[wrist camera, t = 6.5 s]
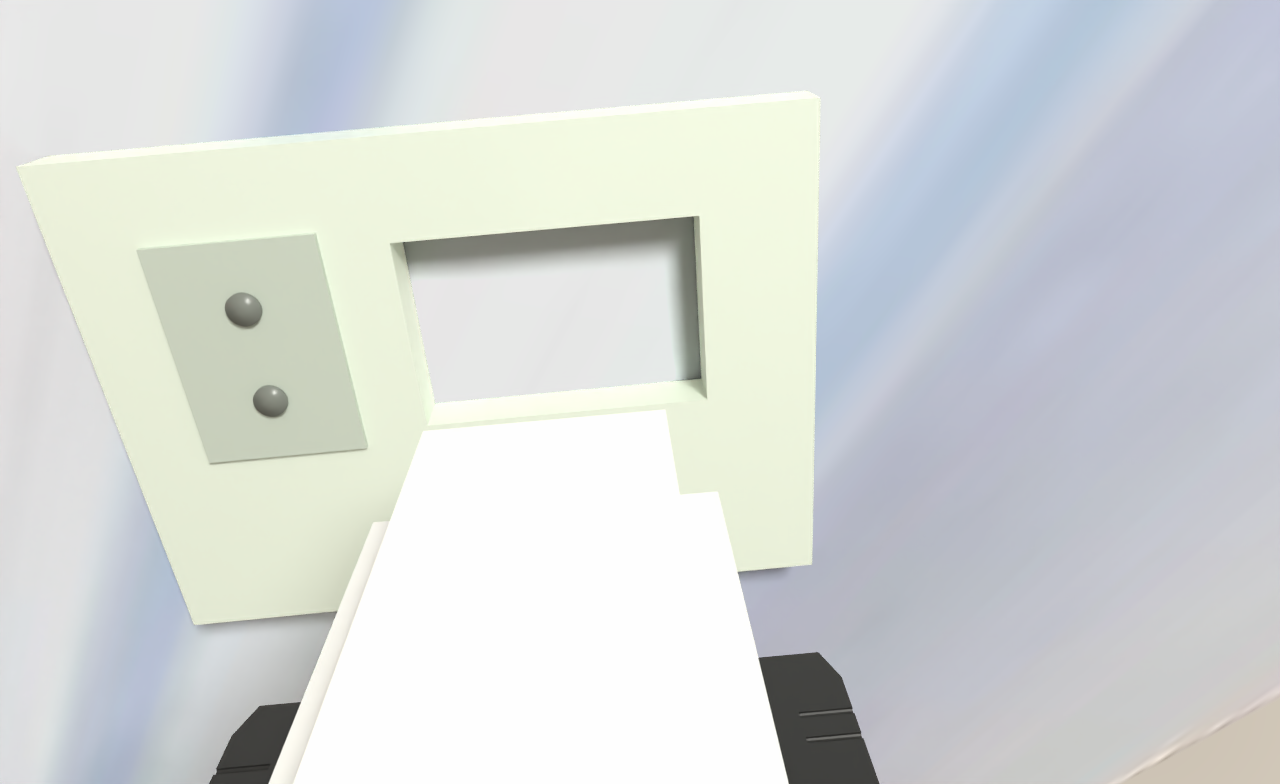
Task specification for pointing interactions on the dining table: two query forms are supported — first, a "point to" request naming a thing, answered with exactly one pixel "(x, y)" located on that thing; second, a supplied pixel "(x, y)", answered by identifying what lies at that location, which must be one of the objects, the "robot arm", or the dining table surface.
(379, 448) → the outlet plate
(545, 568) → the charger
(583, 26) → the dining table surface
